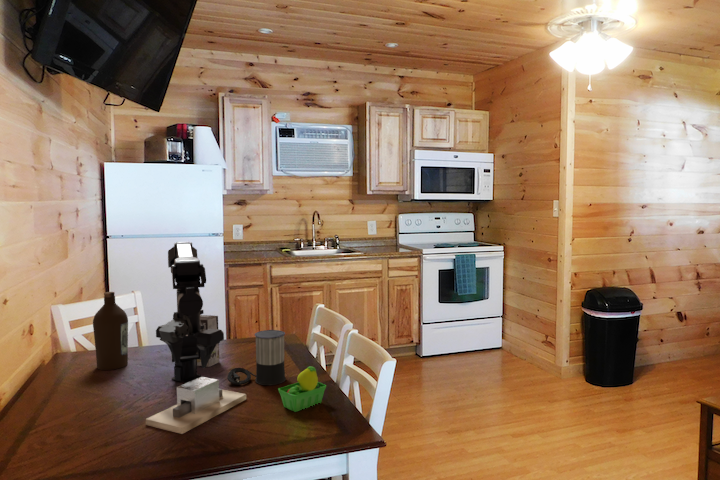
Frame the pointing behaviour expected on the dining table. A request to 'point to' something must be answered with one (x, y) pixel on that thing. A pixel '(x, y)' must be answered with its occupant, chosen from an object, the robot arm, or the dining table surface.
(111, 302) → the olive oil
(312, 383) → the fruit basket
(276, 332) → the milk frother
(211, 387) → the saddle block
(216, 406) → the rail board
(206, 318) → the coffee box
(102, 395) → the dining table surface
